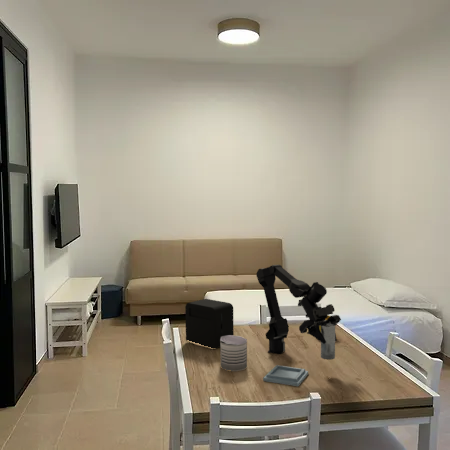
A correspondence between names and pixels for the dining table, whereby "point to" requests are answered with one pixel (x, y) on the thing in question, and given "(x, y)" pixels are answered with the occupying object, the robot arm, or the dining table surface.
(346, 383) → the dining table surface
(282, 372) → the plate
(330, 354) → the grey shiny round cylinder
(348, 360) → the dining table surface
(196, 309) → the air purifier
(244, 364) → the can
